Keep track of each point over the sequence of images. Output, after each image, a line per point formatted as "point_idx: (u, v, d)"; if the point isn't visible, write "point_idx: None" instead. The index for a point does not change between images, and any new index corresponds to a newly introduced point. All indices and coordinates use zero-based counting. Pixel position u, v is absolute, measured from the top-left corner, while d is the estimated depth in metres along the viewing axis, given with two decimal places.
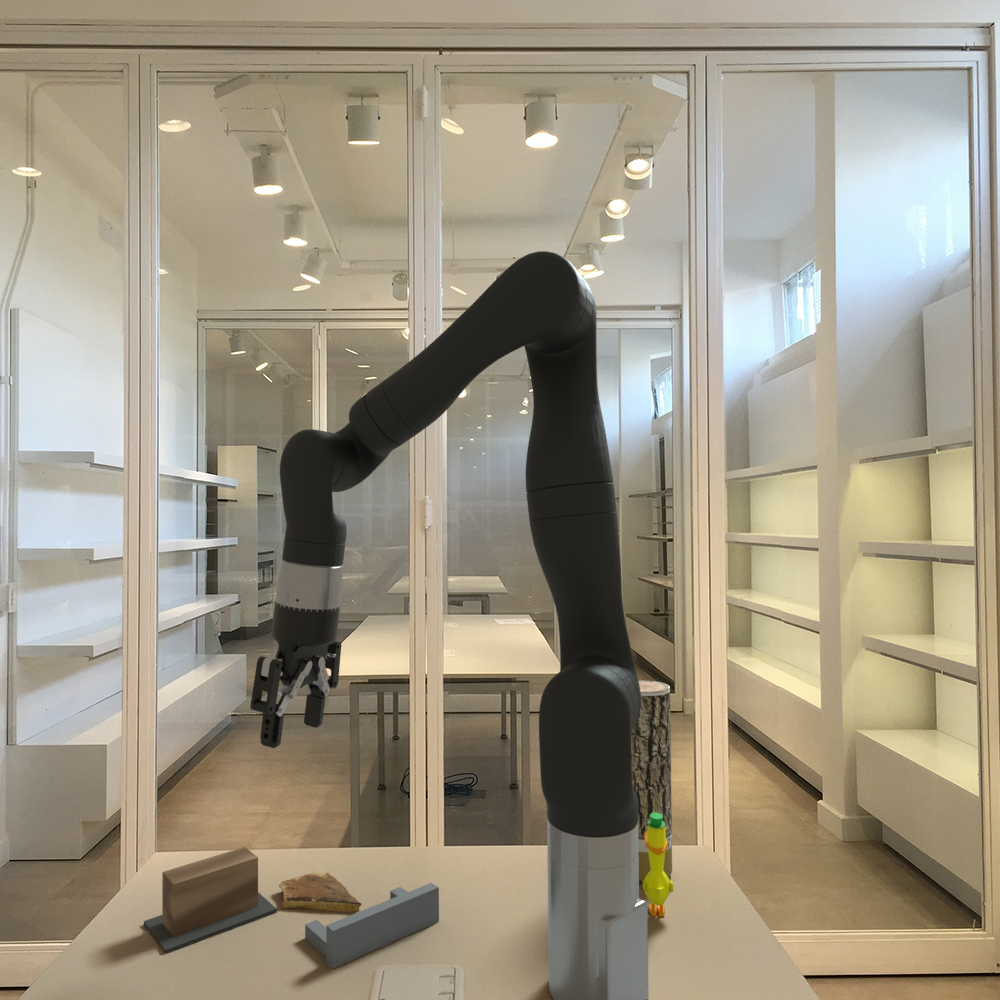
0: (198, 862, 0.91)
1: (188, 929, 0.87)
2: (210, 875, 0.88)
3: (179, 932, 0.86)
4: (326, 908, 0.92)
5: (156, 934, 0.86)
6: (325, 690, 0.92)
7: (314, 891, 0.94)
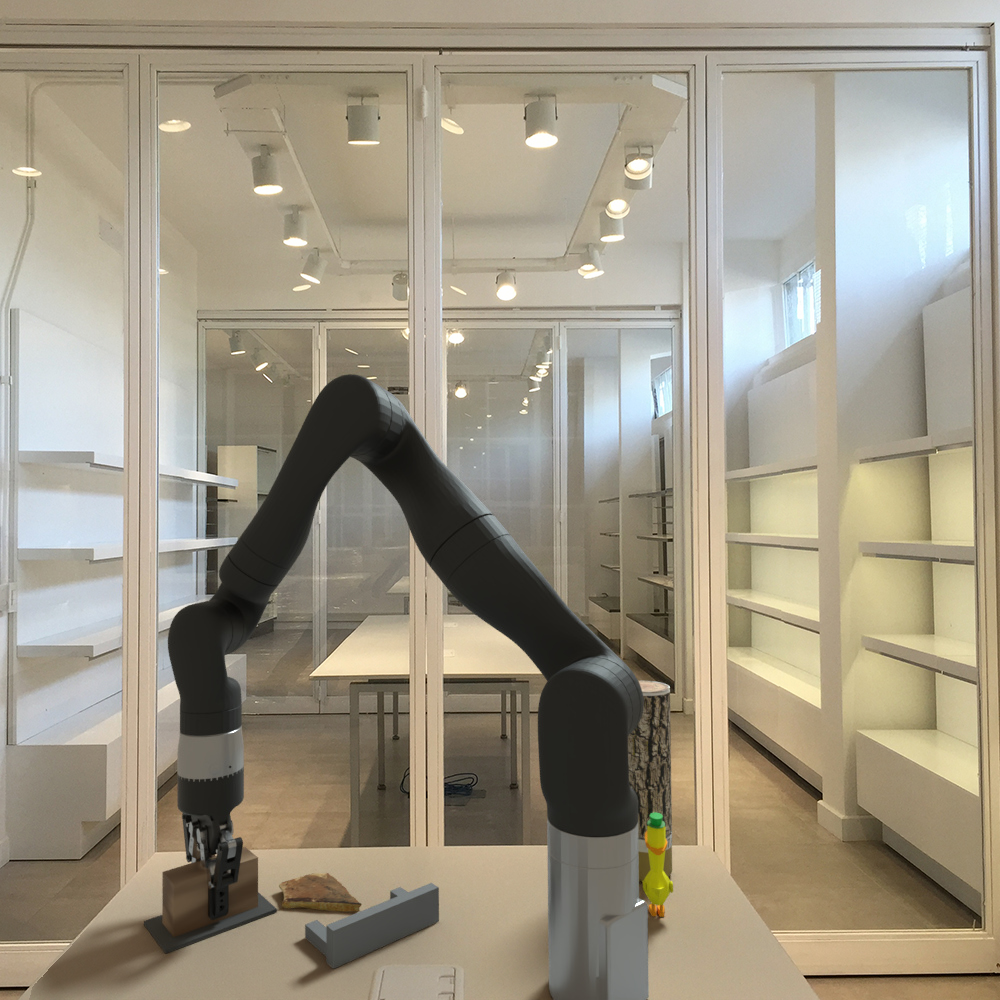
0: (198, 862, 0.91)
1: (188, 929, 0.87)
2: None
3: (179, 932, 0.86)
4: (327, 909, 0.92)
5: (156, 934, 0.86)
6: None
7: (314, 892, 0.94)
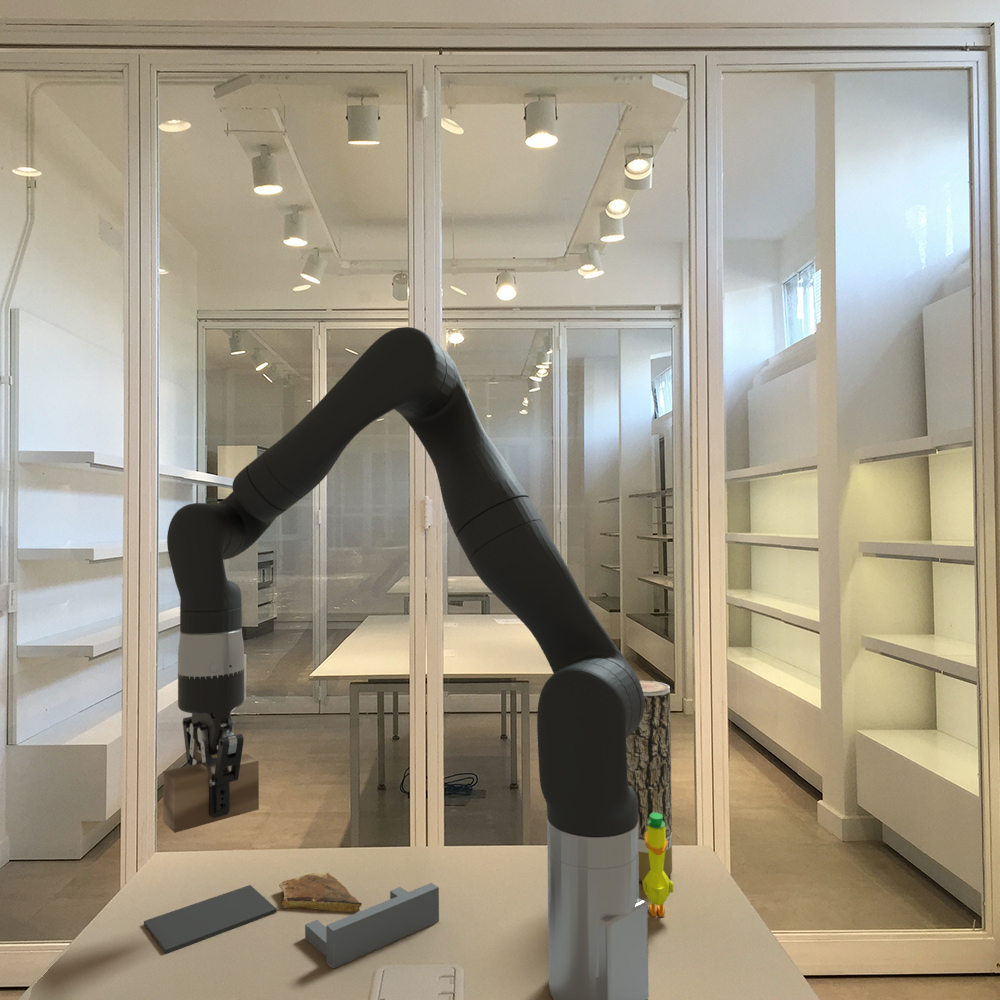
0: (199, 764, 0.91)
1: (189, 826, 0.87)
2: None
3: (180, 828, 0.86)
4: (327, 908, 0.92)
5: (156, 934, 0.86)
6: None
7: (314, 891, 0.94)
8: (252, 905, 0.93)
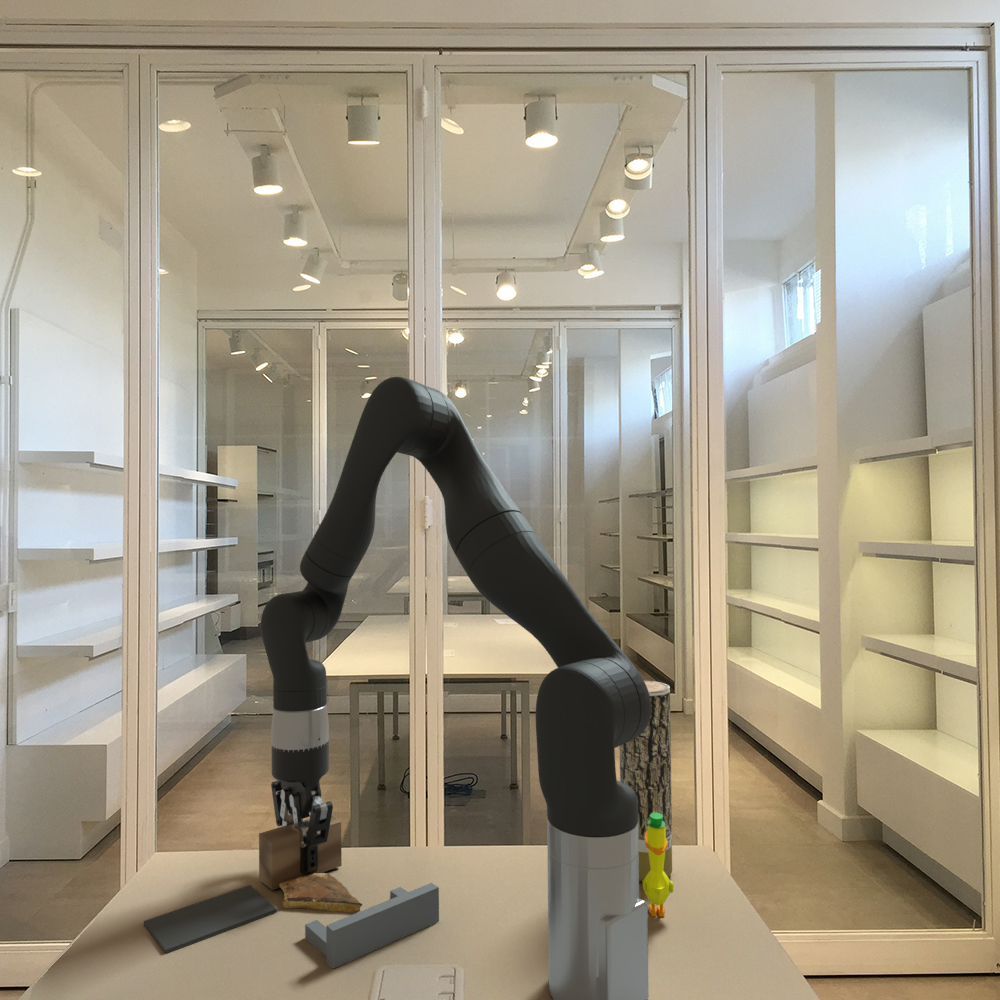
0: (289, 825, 1.02)
1: None
2: None
3: (276, 886, 0.97)
4: (327, 909, 0.92)
5: (156, 934, 0.86)
6: None
7: (314, 891, 0.94)
8: (252, 905, 0.93)
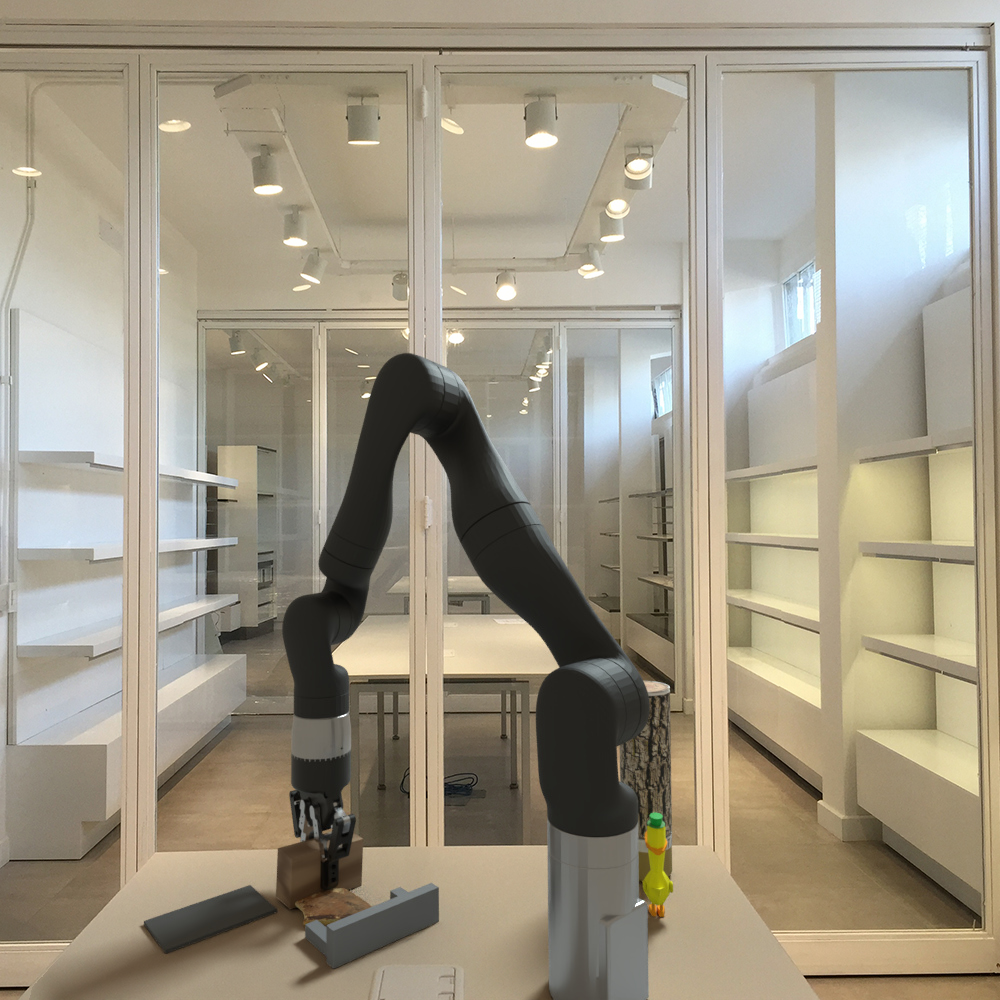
0: (308, 841, 0.97)
1: None
2: None
3: None
4: None
5: (156, 934, 0.86)
6: None
7: (335, 908, 0.90)
8: (252, 905, 0.93)
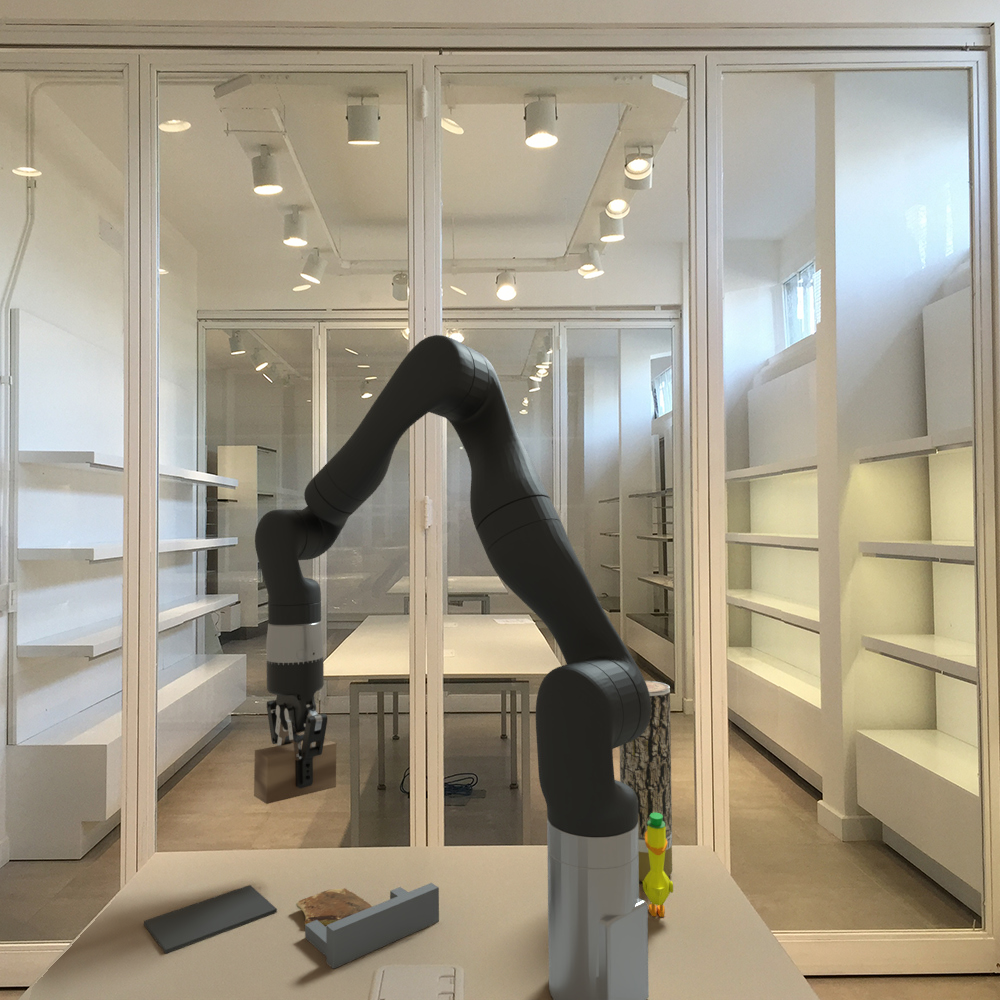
0: (284, 745, 1.03)
1: (278, 798, 0.98)
2: None
3: (271, 800, 0.98)
4: None
5: (156, 934, 0.86)
6: None
7: (336, 909, 0.90)
8: (252, 905, 0.93)
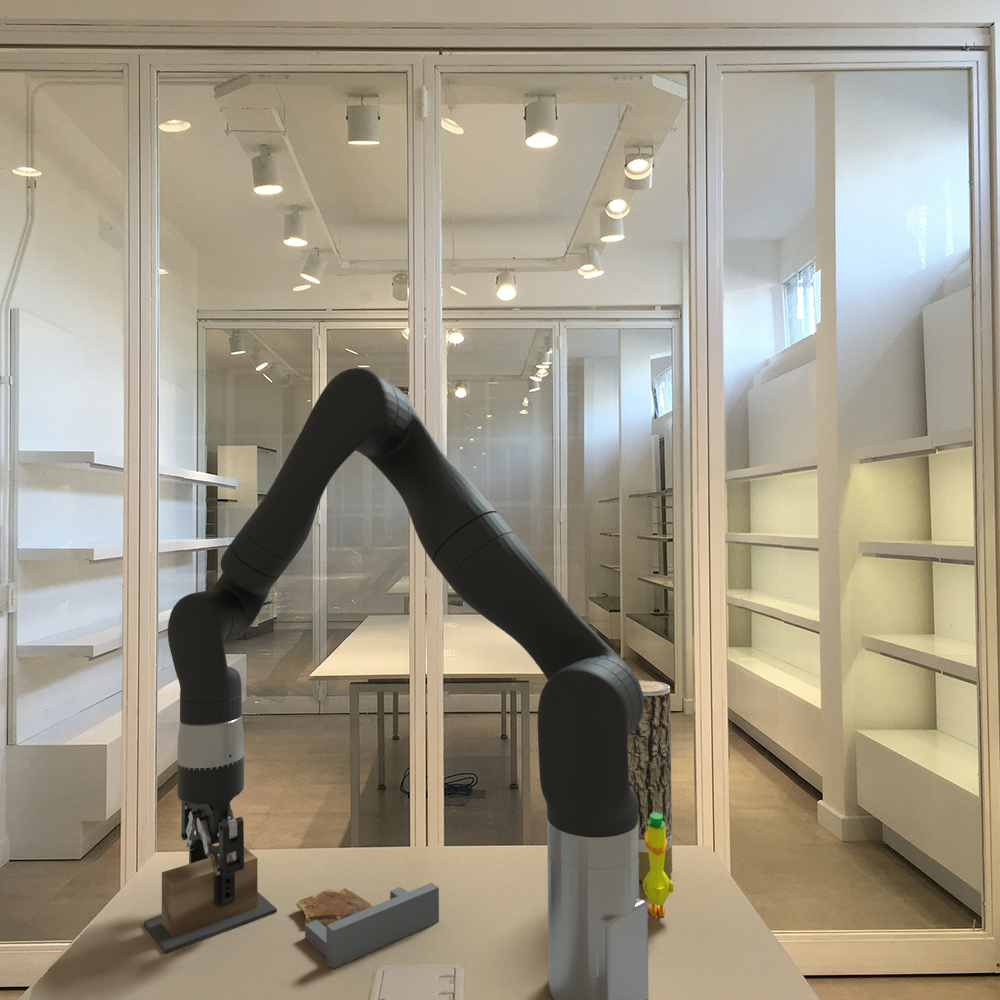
0: (197, 862, 0.91)
1: (187, 929, 0.87)
2: (209, 875, 0.88)
3: (178, 932, 0.86)
4: None
5: (156, 934, 0.86)
6: None
7: (336, 908, 0.90)
8: None
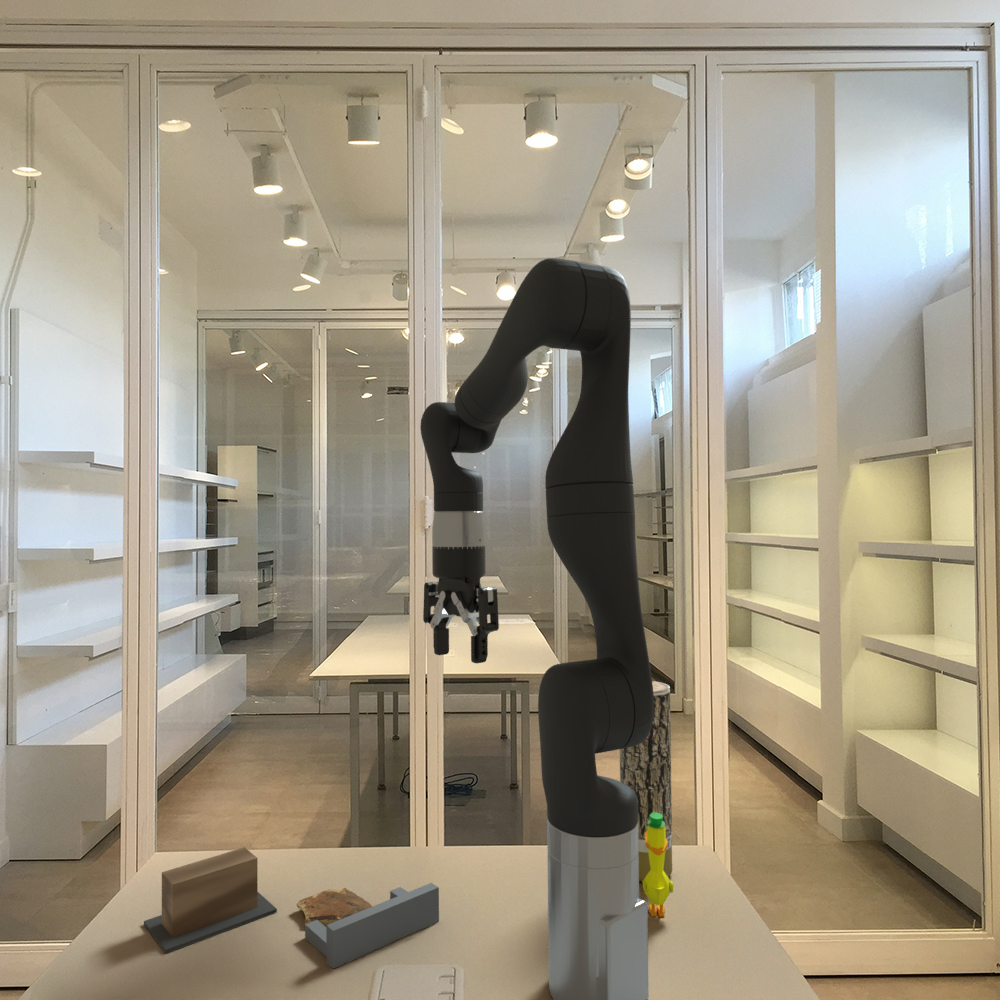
0: (197, 862, 0.91)
1: (187, 929, 0.87)
2: (209, 875, 0.88)
3: (178, 932, 0.86)
4: None
5: (156, 934, 0.86)
6: None
7: (337, 909, 0.90)
8: None
